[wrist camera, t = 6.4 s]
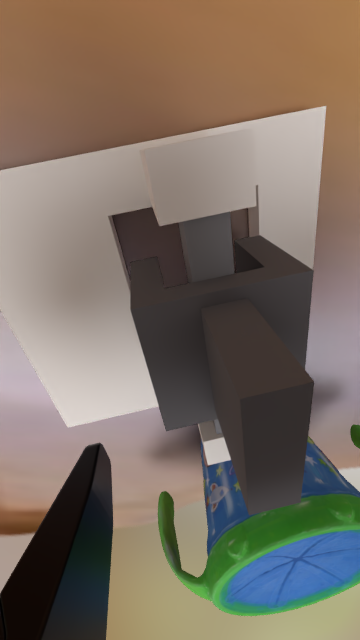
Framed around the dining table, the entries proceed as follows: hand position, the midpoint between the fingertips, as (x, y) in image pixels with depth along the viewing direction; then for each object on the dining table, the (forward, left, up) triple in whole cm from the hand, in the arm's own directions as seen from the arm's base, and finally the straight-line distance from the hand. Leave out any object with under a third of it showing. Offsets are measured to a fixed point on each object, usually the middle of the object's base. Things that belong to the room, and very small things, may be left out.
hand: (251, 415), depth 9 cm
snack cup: (-14, -2, -10) cm, 17 cm away
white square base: (0, +2, -10) cm, 10 cm away
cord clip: (0, 0, -7) cm, 7 cm away
